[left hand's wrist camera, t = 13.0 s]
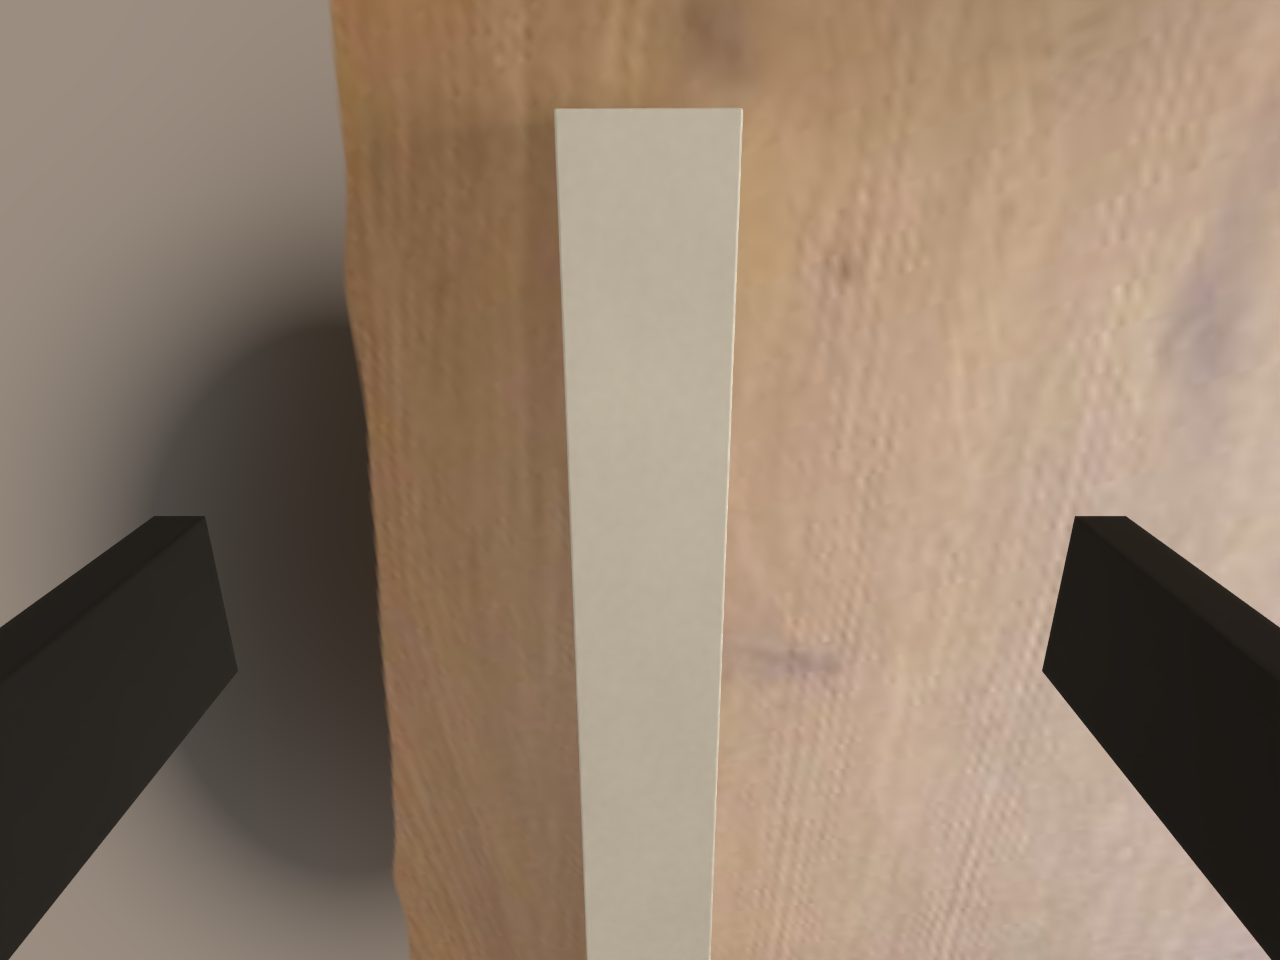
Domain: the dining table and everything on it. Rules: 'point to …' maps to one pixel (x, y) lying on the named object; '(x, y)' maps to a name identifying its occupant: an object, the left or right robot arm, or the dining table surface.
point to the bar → (648, 504)
